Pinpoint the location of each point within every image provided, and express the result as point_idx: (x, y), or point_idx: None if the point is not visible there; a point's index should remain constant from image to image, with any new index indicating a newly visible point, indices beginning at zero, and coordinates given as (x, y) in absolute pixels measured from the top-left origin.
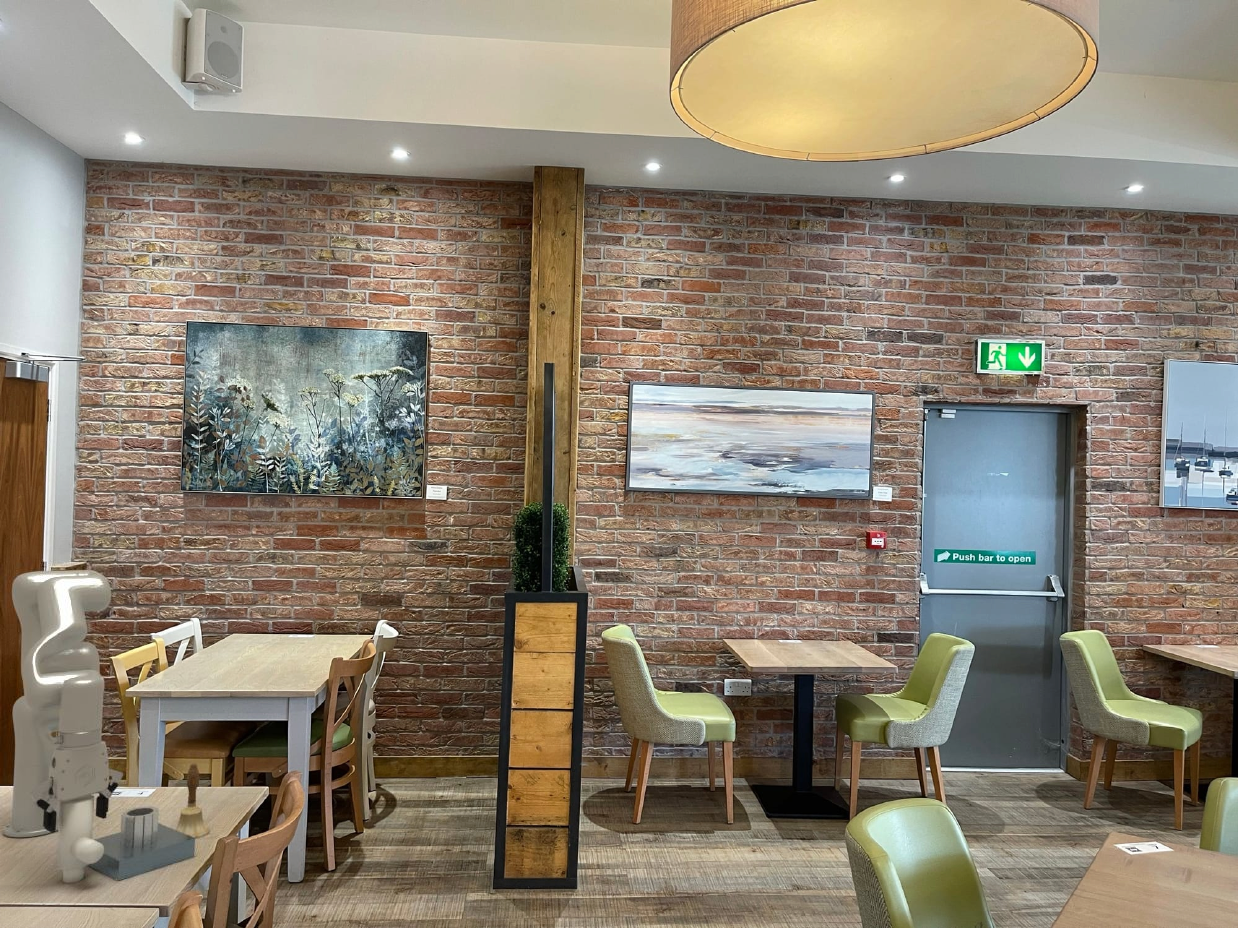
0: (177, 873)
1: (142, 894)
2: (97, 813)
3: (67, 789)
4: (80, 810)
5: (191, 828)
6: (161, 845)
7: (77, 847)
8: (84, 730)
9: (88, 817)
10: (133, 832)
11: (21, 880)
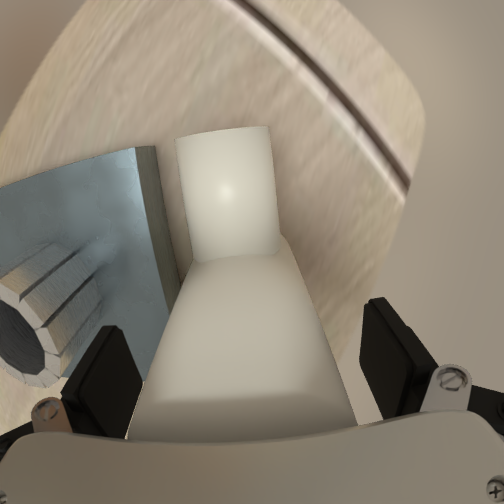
0: (41, 102)
1: (147, 13)
2: (134, 379)
3: (446, 499)
4: (253, 339)
5: None
6: (18, 202)
7: (272, 195)
8: None
9: (195, 309)
10: (52, 274)
11: (335, 327)
